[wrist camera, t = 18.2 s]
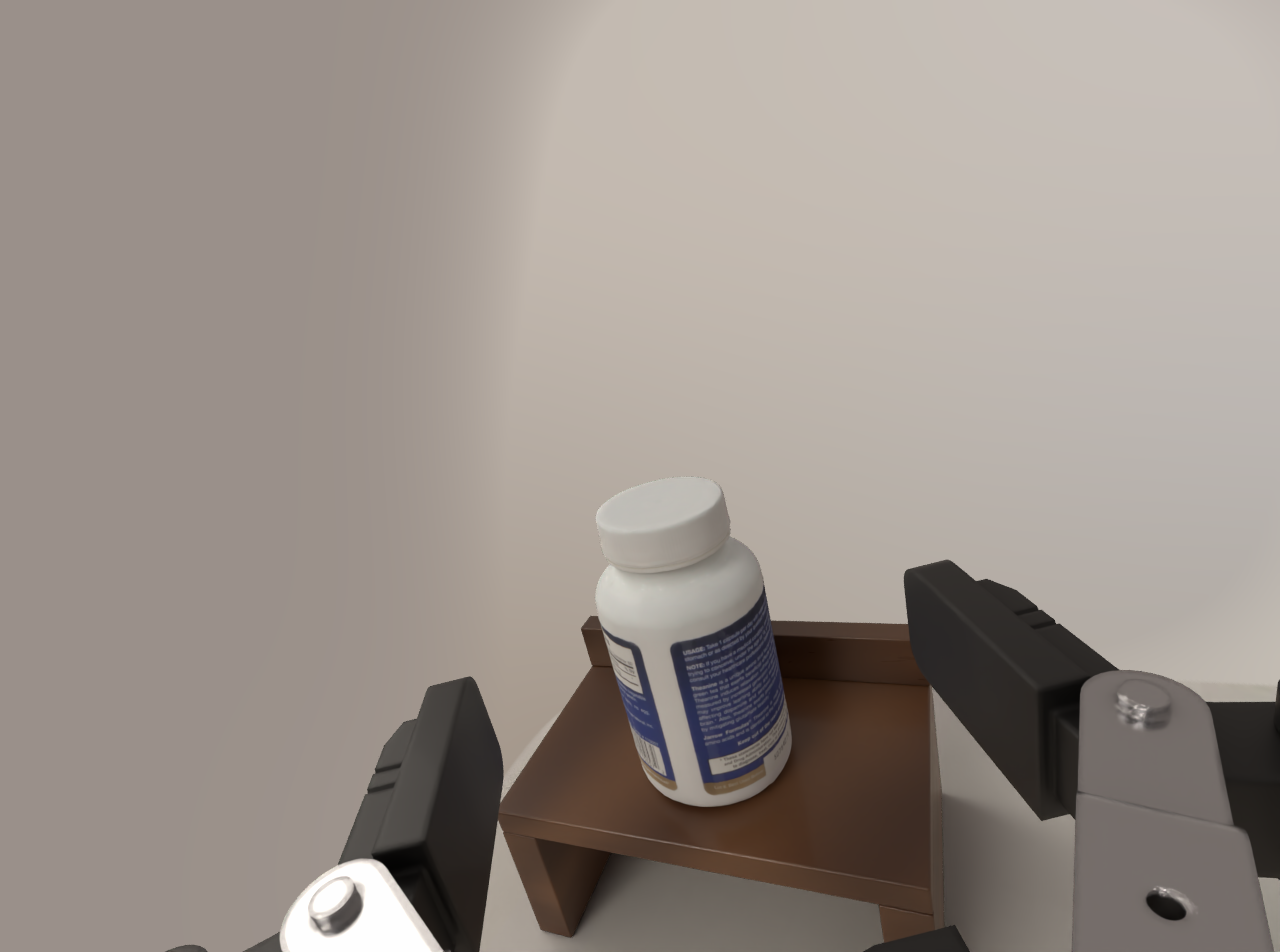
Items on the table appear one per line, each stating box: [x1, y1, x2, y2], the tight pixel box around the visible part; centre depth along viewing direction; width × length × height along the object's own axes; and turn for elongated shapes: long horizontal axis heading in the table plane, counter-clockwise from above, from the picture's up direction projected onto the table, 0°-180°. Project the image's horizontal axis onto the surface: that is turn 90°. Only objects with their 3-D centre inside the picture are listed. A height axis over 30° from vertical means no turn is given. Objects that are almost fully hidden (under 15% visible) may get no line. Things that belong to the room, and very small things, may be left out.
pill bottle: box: [595, 477, 792, 807], centre depth 22 cm, size 5×5×10 cm
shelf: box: [498, 616, 945, 943], centre depth 25 cm, size 14×9×8 cm, turn 68°
